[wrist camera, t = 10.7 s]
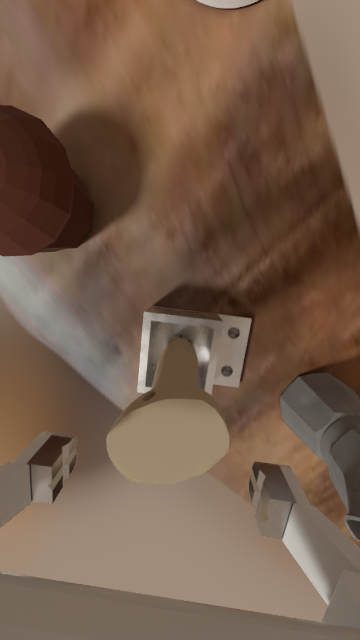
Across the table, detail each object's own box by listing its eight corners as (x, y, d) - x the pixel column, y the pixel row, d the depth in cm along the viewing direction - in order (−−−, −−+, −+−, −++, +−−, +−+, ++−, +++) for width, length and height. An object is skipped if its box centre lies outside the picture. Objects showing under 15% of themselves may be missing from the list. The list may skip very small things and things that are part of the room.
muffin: (42, 278, 25) (-53, 279, 15) (-12, 190, 23) (-156, 127, 14) (124, 232, 24) (77, 199, 14) (74, 133, 22) (-21, 16, 12)
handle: (212, 354, 25) (242, 461, 10) (165, 373, 26) (133, 497, 11) (196, 319, 24) (205, 382, 10) (148, 339, 25) (91, 427, 11)
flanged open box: (152, 305, 25) (143, 311, 20) (249, 317, 25) (263, 326, 20) (146, 372, 27) (137, 392, 22) (237, 384, 27) (247, 406, 22)
